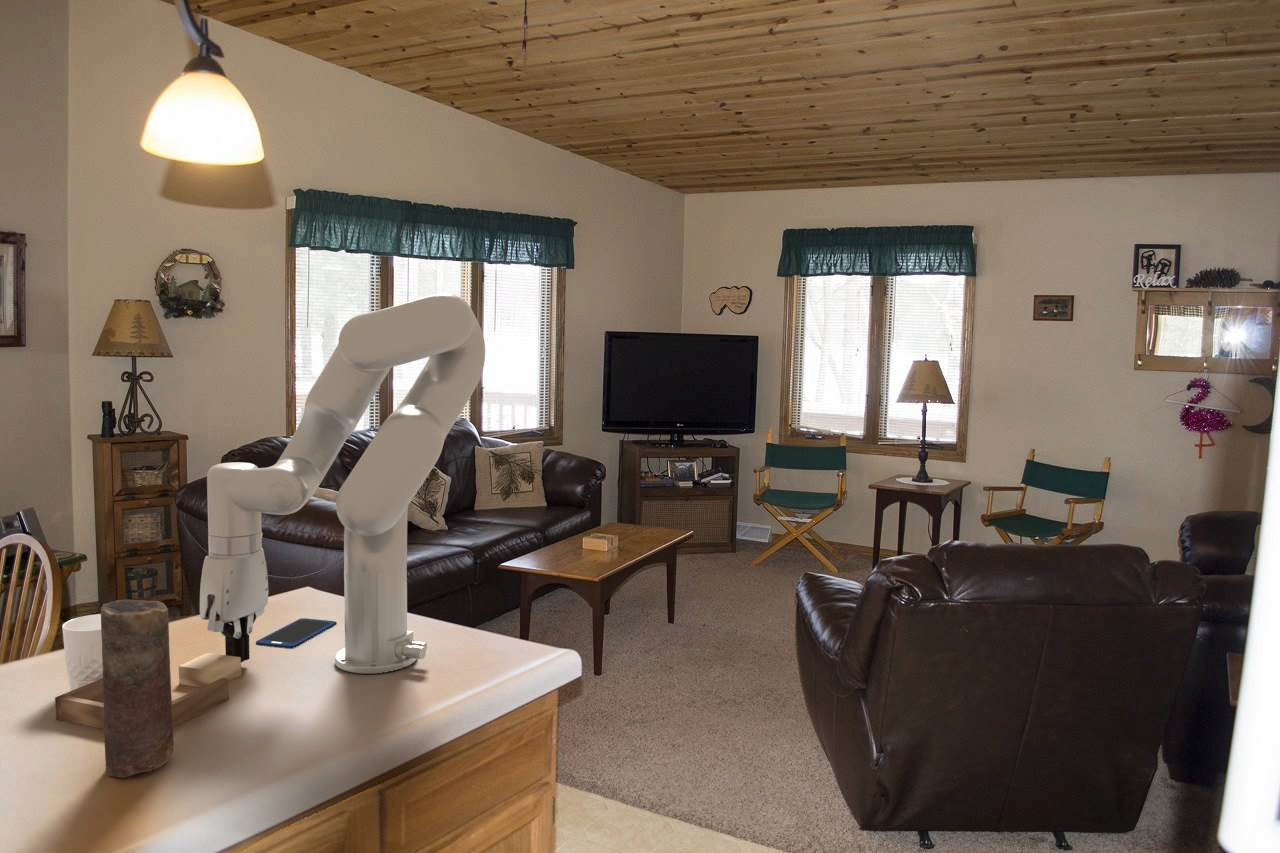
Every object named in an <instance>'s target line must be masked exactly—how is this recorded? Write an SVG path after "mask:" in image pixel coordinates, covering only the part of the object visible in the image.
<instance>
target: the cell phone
mask: <svg viewBox="0 0 1280 853" xmlns="http://www.w3.org/2000/svg"><path fill="white" fill-rule="evenodd" d="M337 623H338V622H337V621H335V620H327V619H318V618H317V619H315V618H307V617H305V618H298V619H296V620H294V621H293V622H291V623H288V624H287V625H285V626H283V627H281V628H279V629H277V630H275V631H273V632H271V633H269V634H268V635H265V636H264V637H261V638H260V639H257V640H256V641H255V645H258V646H263V645H264V647H272V646H274V648H281V647H285V648H284V649H294V648H293V647H295V648H297V647H299V646H301V645H302V643H303V644H304V643H306V642H308V641H310V640H311V638H312V639H313V638H315V637H317V636H318V634H319V635H321V634H322V633H324V632H326V631H328V630H329V629H331V628H333V627H334V625H335V626H337ZM327 629H328V630H327ZM325 630H326V631H325ZM323 631H324V632H323ZM316 635H317V636H316ZM314 636H315V637H314ZM309 639H310V640H309ZM307 640H308V641H307ZM305 641H306V642H305ZM300 644H301V645H300ZM265 645H266V646H265ZM296 646H297V647H296Z"/></svg>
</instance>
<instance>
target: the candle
mask: <svg viewBox="0 0 1280 853" xmlns="http://www.w3.org/2000/svg"><path fill="white" fill-rule="evenodd" d="M100 614H101V635H102V665H103V703H104V729H103V730H104V735H103V737H104V758H105V759H104V761H105V774H106V775H107V776H110V777H112V778H113V777H117V778H129V777H131V776H133V775H137V774H141V773H145V772H146V773H147V772H148V773H151V772H152V771H154V770H156V769H159V768H160V767H162V765H163V764H165V763H167V762H168V761H169V760H170V758H171V756H172V755H173V754H174V751H175V749H174V748H175V747H174V740H175V739H174V727H173V712H172V701H173V698H172V697H173V696H172V680H171V679H172V677H171V676H172V675H171V656H170V655H171V654H170V630H169V628H170V625H169V609H168V607H167V605H165V603H163V602H162V601H159V600H146V599H145V600H141V599H137V600H136V599H118V600H115V601H114V600H113V601H110V602H107V603H103V604H102V606H101V608H100Z"/></svg>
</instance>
